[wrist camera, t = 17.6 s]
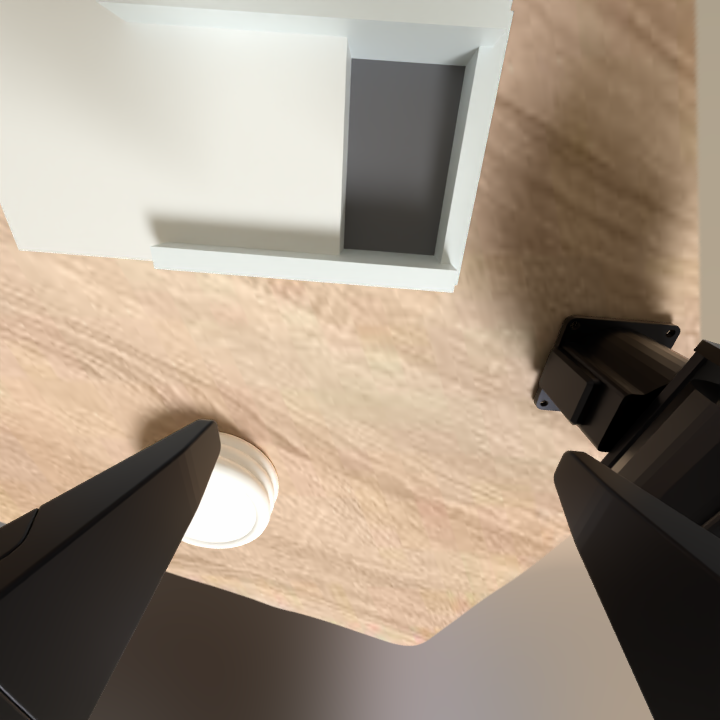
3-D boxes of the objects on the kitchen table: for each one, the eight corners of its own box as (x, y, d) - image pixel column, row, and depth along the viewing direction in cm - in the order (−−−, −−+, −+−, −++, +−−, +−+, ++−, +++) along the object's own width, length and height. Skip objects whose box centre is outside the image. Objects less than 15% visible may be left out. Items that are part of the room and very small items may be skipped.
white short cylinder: (147, 423, 25) (115, 455, 22) (275, 430, 25) (260, 465, 22) (177, 510, 30) (153, 547, 27) (285, 517, 29) (273, 556, 26)
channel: (492, 39, 14) (530, -12, 10) (447, 274, 19) (464, 293, 15) (-21, 4, 14) (-151, -57, 11) (61, 243, 19) (-12, 255, 15)
